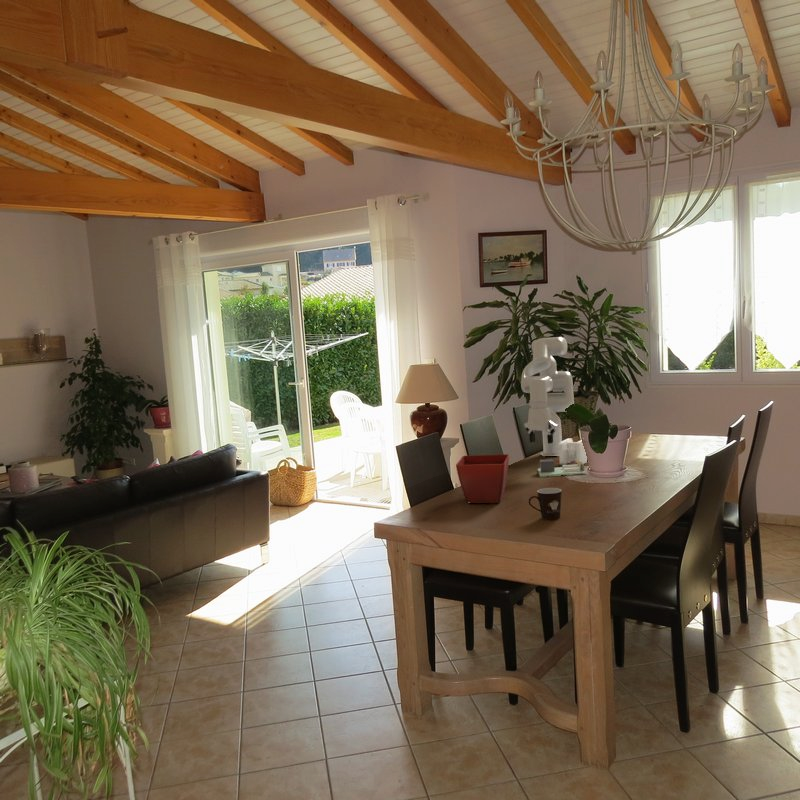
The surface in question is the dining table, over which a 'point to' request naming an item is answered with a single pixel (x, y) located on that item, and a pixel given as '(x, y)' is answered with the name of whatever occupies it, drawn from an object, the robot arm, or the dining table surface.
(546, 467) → the plug
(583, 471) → the board
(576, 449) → the cable organizer
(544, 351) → the robot arm
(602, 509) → the dining table surface
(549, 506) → the coffee mug
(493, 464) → the plant pot
